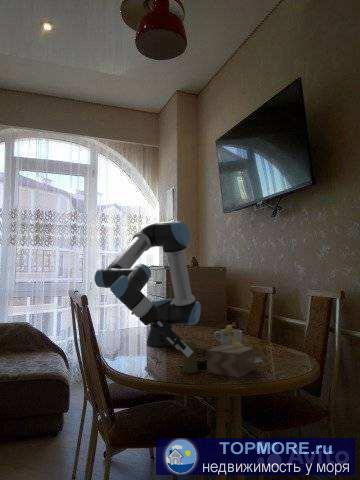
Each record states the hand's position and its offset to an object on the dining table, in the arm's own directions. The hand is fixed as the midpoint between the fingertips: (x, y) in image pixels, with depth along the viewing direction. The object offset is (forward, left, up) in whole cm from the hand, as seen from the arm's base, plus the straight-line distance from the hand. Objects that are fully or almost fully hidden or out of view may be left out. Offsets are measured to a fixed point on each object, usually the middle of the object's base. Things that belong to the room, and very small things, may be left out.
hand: (185, 350), depth 136 cm
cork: (+1, +2, -8) cm, 8 cm away
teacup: (-8, +51, -8) cm, 52 cm away
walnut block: (+14, +10, -8) cm, 19 cm away
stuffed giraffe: (+8, +30, -8) cm, 32 cm away
